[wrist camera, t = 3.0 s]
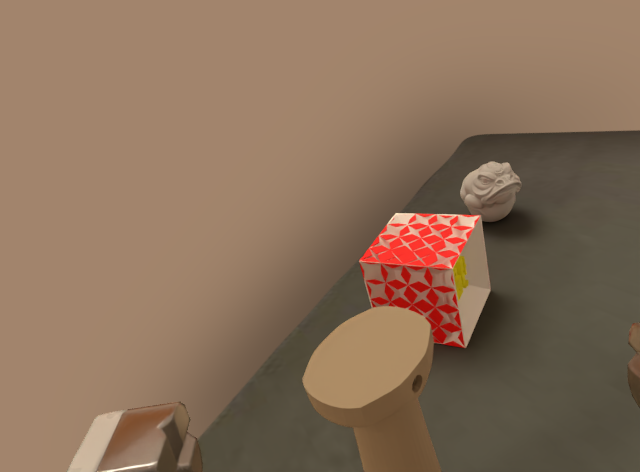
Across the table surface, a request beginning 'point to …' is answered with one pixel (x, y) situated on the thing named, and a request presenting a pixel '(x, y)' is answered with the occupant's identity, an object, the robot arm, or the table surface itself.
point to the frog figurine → (490, 191)
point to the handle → (377, 386)
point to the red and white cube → (431, 271)
